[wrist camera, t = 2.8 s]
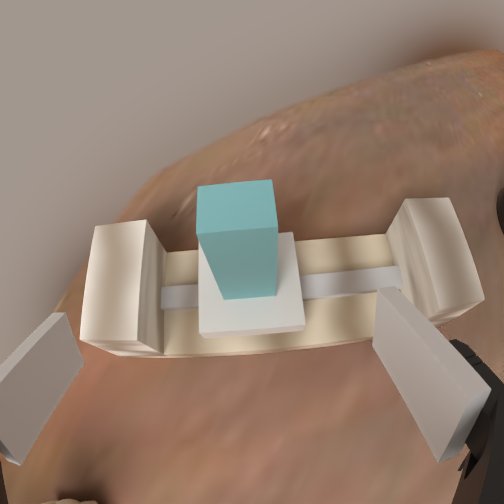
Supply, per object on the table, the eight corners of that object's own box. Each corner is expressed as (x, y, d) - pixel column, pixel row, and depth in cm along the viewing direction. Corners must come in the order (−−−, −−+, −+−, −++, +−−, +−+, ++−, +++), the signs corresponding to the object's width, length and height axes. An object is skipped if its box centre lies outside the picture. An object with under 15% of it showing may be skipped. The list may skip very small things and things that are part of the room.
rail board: (417, 236, 32) (447, 194, 25) (442, 325, 27) (484, 299, 20) (129, 261, 32) (96, 222, 25) (122, 357, 28) (79, 339, 21)
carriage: (291, 247, 29) (301, 145, 18) (302, 332, 25) (327, 270, 14) (205, 255, 29) (166, 158, 18) (206, 340, 26) (154, 284, 14)
